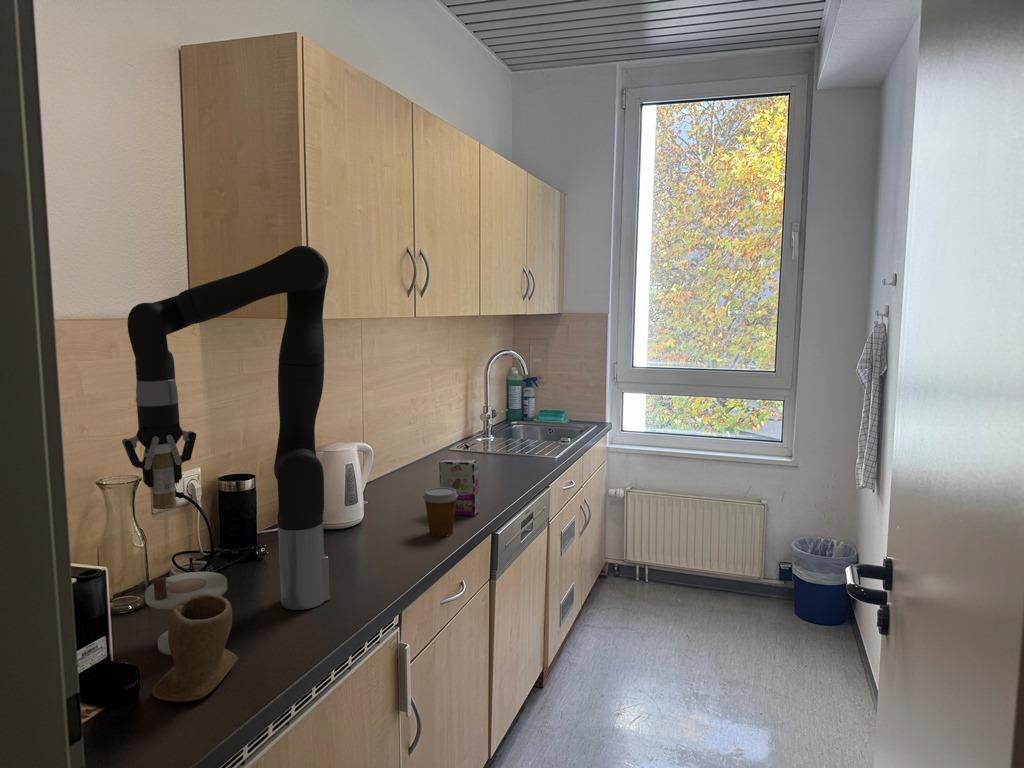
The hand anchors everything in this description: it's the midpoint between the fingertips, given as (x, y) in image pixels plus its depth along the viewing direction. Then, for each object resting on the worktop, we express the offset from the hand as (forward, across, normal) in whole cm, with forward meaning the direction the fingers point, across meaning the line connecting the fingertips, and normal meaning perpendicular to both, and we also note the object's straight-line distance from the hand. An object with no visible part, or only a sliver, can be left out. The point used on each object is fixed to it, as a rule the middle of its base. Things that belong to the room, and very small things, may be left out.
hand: (163, 484), depth 145 cm
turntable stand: (+27, -1, -17) cm, 32 cm away
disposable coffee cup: (+28, +71, +4) cm, 76 cm away
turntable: (+18, -1, -17) cm, 24 cm away
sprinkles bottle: (+5, 0, 0) cm, 5 cm away
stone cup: (+27, -4, -34) cm, 44 cm away
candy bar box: (+28, +86, +16) cm, 92 cm away
